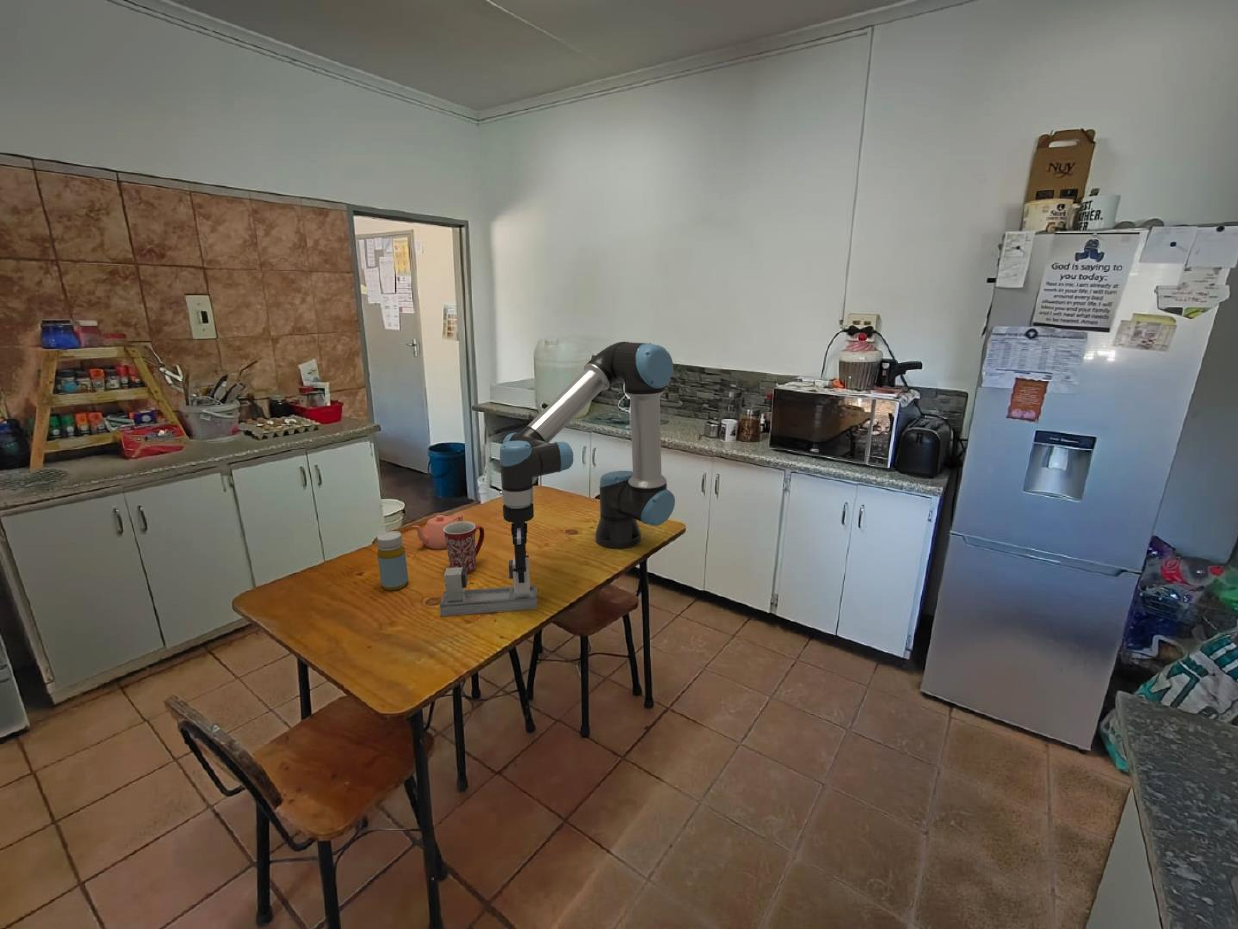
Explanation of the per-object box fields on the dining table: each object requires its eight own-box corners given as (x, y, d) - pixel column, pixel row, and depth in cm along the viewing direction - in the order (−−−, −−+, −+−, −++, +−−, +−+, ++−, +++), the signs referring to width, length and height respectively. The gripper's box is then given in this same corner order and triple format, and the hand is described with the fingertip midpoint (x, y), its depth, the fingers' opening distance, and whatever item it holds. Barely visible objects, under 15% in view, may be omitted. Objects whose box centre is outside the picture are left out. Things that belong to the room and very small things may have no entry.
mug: (459, 580, 158) (455, 536, 154) (441, 570, 164) (436, 527, 160) (495, 564, 167) (492, 522, 164) (476, 555, 173) (473, 515, 169)
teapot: (474, 540, 185) (472, 513, 182) (424, 558, 172) (421, 529, 169) (453, 530, 192) (451, 504, 190) (405, 547, 179) (401, 519, 177)
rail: (536, 595, 150) (535, 559, 147) (537, 608, 143) (535, 571, 140) (444, 602, 146) (441, 566, 143) (440, 616, 140) (436, 578, 137)
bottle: (414, 581, 157) (408, 532, 153) (397, 593, 151) (390, 542, 147) (394, 577, 159) (387, 529, 155) (376, 589, 153) (369, 538, 149)
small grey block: (529, 584, 147) (528, 557, 145) (529, 592, 143) (528, 564, 141) (510, 586, 146) (509, 558, 144) (510, 593, 142) (508, 565, 140)
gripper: (504, 492, 146) (508, 573, 152) (500, 516, 130) (506, 606, 136) (533, 491, 147) (536, 571, 153) (533, 515, 131) (537, 603, 137)
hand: (522, 587), depth 145 cm, fingers closed on small grey block, 4 cm apart
